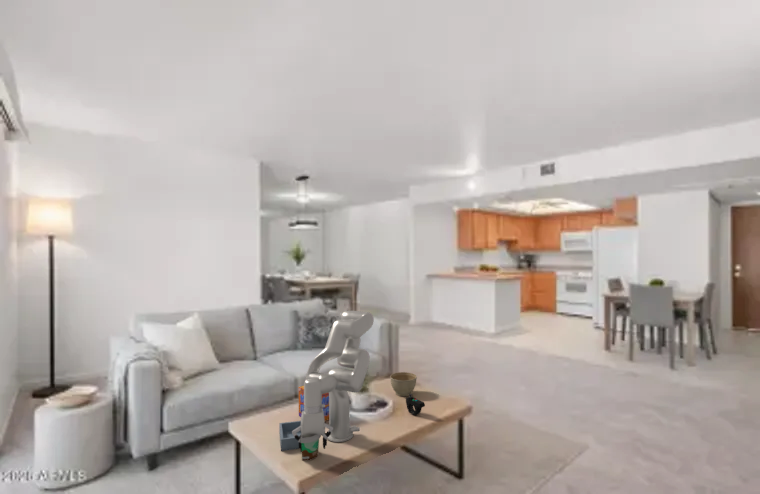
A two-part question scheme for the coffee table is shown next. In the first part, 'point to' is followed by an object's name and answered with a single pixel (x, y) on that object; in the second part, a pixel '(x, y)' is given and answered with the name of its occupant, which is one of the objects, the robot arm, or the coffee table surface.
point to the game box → (324, 401)
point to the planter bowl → (403, 383)
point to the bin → (289, 435)
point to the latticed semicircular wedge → (310, 447)
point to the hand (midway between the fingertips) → (312, 448)
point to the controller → (416, 403)
